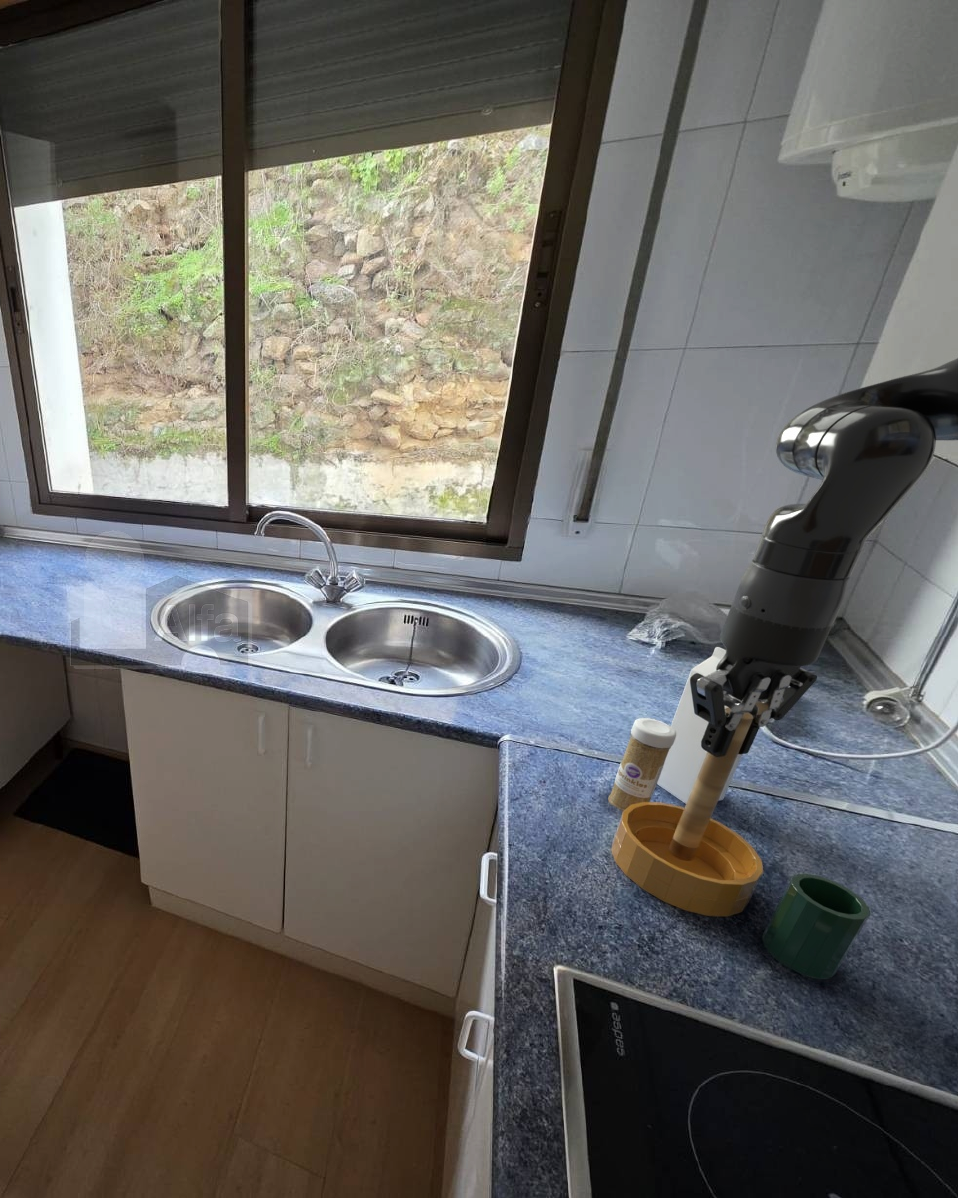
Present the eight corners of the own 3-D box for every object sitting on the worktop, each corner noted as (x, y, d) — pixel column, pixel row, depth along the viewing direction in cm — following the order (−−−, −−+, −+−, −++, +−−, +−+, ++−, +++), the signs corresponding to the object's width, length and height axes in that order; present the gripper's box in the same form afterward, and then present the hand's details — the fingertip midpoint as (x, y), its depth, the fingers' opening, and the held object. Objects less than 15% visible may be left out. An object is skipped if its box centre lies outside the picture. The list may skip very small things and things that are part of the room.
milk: (682, 774, 94) (733, 643, 86) (724, 801, 89) (782, 663, 81) (649, 780, 93) (698, 647, 85) (689, 807, 88) (745, 669, 79)
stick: (688, 849, 76) (747, 709, 69) (696, 863, 74) (758, 721, 67) (665, 844, 77) (720, 705, 69) (672, 858, 75) (730, 716, 67)
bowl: (718, 850, 81) (733, 816, 78) (768, 935, 69) (786, 898, 67) (598, 824, 85) (609, 792, 83) (627, 901, 74) (640, 865, 71)
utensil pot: (814, 943, 68) (849, 882, 65) (845, 990, 63) (884, 926, 60) (750, 928, 70) (780, 867, 66) (775, 972, 65) (809, 909, 62)
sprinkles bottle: (603, 806, 88) (630, 725, 83) (612, 791, 91) (639, 712, 86) (642, 823, 85) (673, 740, 80) (650, 807, 88) (680, 726, 83)
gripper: (762, 630, 59) (701, 780, 66) (883, 619, 61) (812, 765, 68) (688, 600, 66) (640, 738, 72) (798, 591, 68) (742, 726, 74)
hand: (723, 750), depth 70 cm, fingers closed on stick, 2 cm apart
